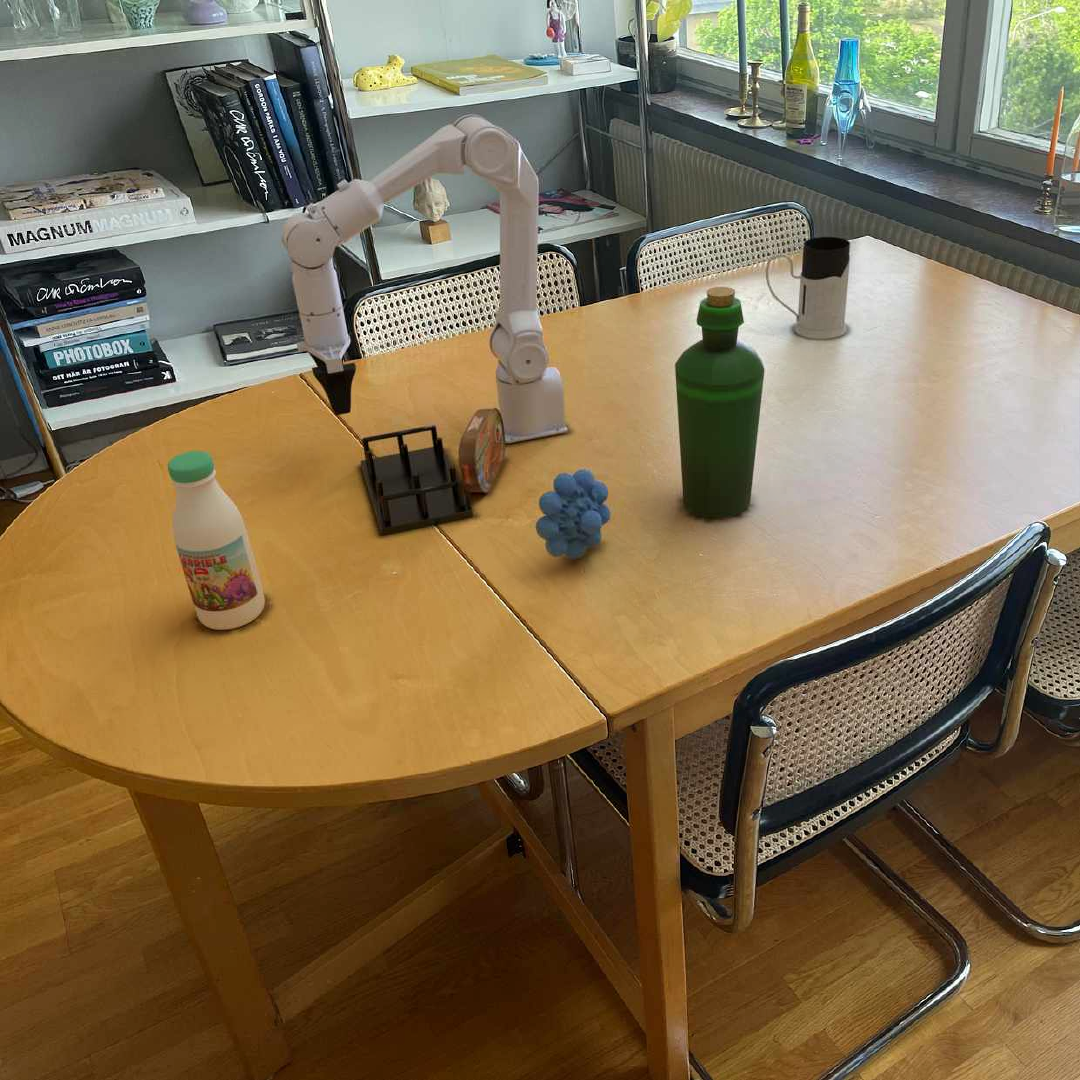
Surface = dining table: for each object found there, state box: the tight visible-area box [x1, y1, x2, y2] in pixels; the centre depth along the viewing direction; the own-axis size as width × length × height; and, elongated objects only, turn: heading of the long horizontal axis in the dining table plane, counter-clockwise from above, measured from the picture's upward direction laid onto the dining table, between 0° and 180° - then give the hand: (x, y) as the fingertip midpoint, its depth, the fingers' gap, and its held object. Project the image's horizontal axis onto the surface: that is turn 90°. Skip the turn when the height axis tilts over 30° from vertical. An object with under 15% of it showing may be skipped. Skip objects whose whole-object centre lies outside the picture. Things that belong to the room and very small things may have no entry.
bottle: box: [674, 286, 765, 518], centre depth 125 cm, size 11×11×28 cm
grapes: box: [535, 468, 611, 560], centre depth 121 cm, size 12×7×12 cm, turn 135°
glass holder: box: [765, 236, 851, 340], centre depth 175 cm, size 9×14×15 cm, turn 89°
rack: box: [360, 424, 474, 536], centre depth 140 cm, size 12×20×5 cm, turn 16°
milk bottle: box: [167, 450, 266, 631], centre depth 115 cm, size 8×8×20 cm
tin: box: [458, 407, 506, 494], centre depth 141 cm, size 15×3×8 cm, turn 168°
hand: (339, 402), depth 144 cm, fingers open, 7 cm apart
